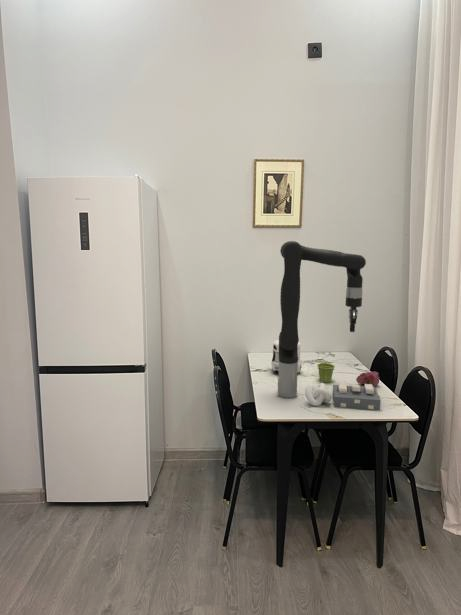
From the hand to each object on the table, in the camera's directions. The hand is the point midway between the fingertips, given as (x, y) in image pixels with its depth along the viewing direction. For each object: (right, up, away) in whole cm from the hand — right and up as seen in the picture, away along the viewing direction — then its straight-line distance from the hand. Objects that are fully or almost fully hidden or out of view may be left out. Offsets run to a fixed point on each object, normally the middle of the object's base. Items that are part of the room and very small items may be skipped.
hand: (352, 331), depth 195 cm
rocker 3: (+6, -26, -8) cm, 28 cm away
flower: (+13, -30, +16) cm, 36 cm away
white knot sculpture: (-19, -34, -7) cm, 39 cm away
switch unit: (0, -33, -5) cm, 34 cm away
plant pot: (-7, -29, +23) cm, 38 cm away
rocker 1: (-6, -26, -5) cm, 27 cm away
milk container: (-27, -26, +38) cm, 54 cm away
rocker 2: (0, -26, -7) cm, 27 cm away
